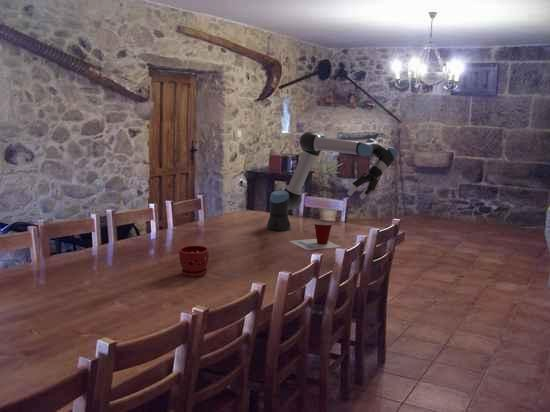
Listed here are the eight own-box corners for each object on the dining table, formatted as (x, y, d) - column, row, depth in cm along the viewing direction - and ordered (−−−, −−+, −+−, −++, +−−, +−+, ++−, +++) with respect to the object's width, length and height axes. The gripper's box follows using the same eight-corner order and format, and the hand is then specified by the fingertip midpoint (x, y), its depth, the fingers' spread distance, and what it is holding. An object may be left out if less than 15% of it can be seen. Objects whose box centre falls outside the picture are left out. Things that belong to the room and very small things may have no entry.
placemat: (288, 241, 329) (288, 240, 329) (321, 238, 339) (321, 238, 339) (307, 250, 310) (307, 249, 310) (341, 246, 319) (341, 246, 319)
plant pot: (183, 269, 266) (183, 244, 264) (211, 271, 265) (211, 245, 263) (175, 277, 253) (175, 251, 251) (205, 279, 252) (205, 252, 250)
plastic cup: (331, 241, 331) (332, 221, 329) (331, 245, 321) (332, 224, 319) (313, 240, 332) (313, 220, 330) (312, 244, 322) (313, 223, 320)
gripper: (393, 176, 324) (370, 203, 321) (369, 171, 347) (347, 197, 343) (386, 167, 321) (362, 194, 318) (362, 163, 344) (339, 189, 340)
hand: (354, 196), depth 330 cm, fingers open, 13 cm apart
